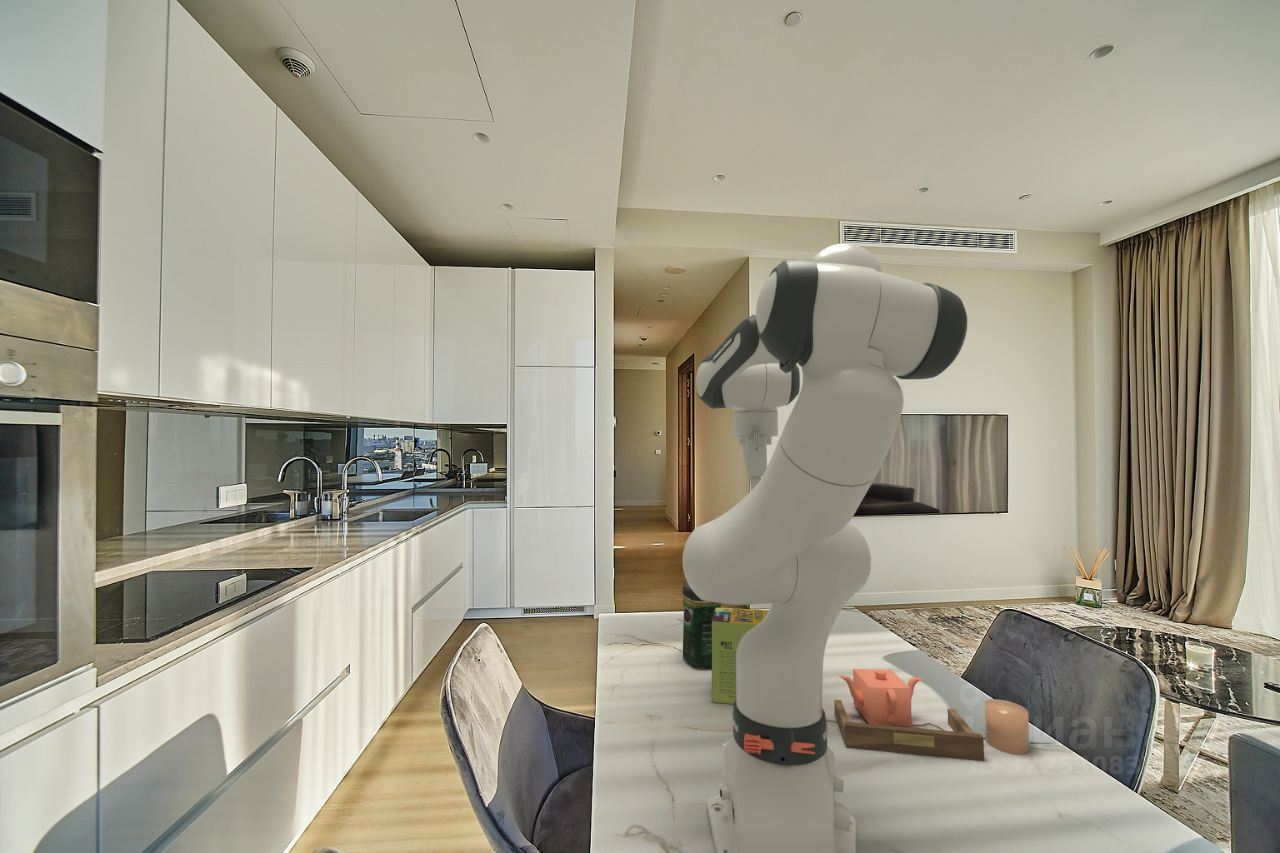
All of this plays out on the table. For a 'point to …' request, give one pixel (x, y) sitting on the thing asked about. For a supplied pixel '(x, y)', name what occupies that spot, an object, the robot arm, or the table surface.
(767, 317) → the robot arm
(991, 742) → the peach rounded cylinder
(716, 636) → the protein box
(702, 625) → the coffee jar
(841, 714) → the display bay
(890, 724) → the teapot
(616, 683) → the table surface
